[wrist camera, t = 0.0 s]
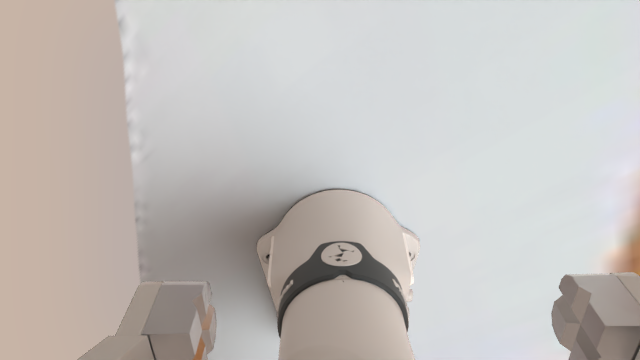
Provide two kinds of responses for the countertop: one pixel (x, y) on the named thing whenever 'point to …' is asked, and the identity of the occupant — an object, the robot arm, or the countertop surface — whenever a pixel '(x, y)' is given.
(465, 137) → the countertop surface
